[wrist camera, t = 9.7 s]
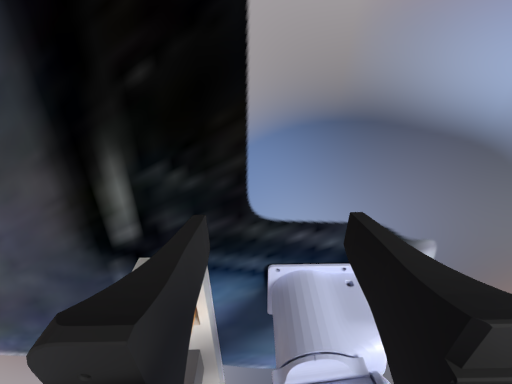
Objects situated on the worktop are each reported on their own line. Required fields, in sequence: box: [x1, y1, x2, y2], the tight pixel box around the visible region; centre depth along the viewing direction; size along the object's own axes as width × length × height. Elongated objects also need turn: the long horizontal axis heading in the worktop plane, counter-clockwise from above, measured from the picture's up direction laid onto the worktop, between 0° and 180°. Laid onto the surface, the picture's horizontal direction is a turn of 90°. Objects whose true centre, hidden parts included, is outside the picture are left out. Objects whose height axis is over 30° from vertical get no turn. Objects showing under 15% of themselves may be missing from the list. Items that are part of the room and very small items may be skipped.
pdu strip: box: [132, 258, 225, 384], centre depth 30 cm, size 7×28×7 cm, turn 1°
